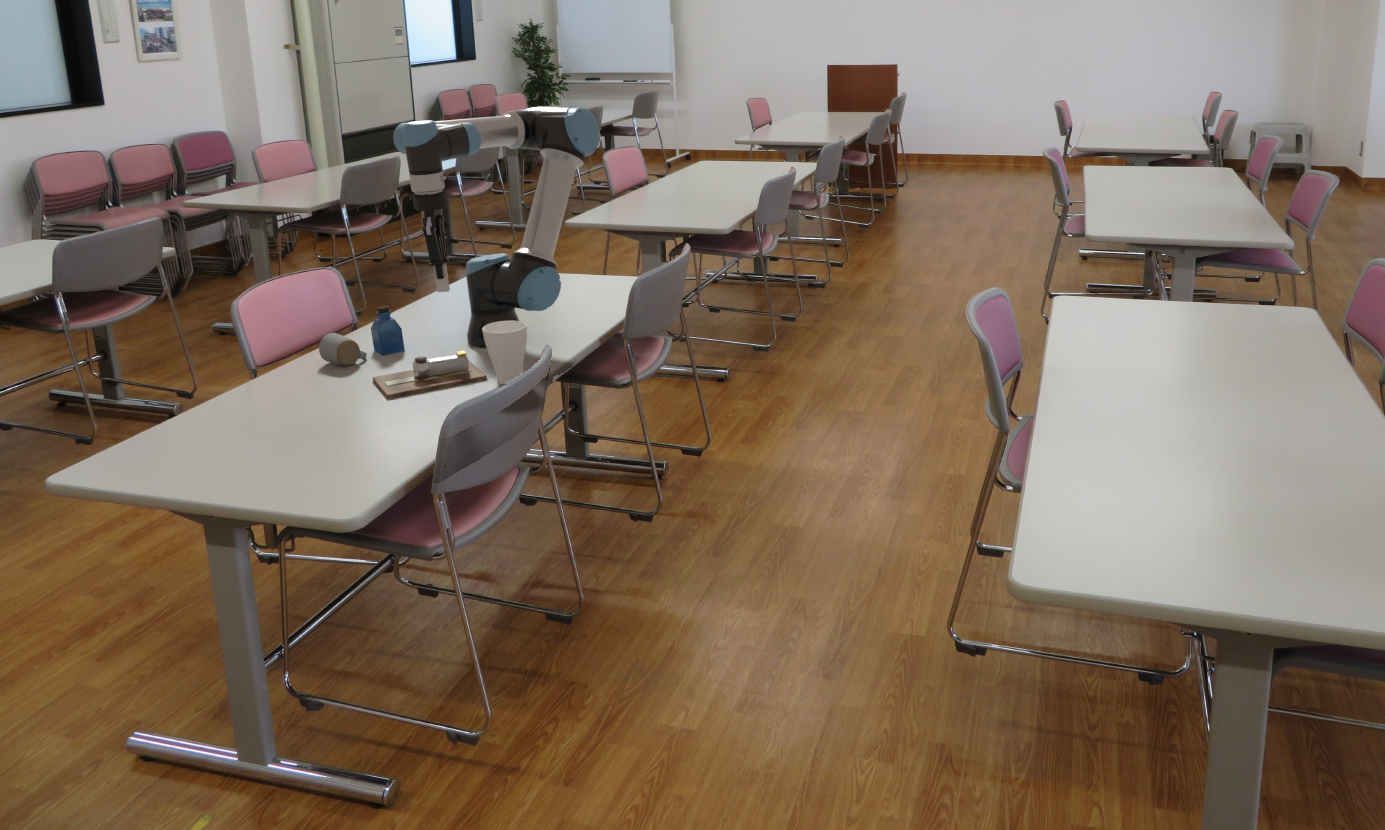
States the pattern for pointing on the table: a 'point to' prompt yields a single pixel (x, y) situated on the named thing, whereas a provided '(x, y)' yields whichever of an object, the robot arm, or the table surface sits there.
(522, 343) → the cup
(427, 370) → the swing bar
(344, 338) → the ceramic mug
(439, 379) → the lock board
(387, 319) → the perfume bottle
